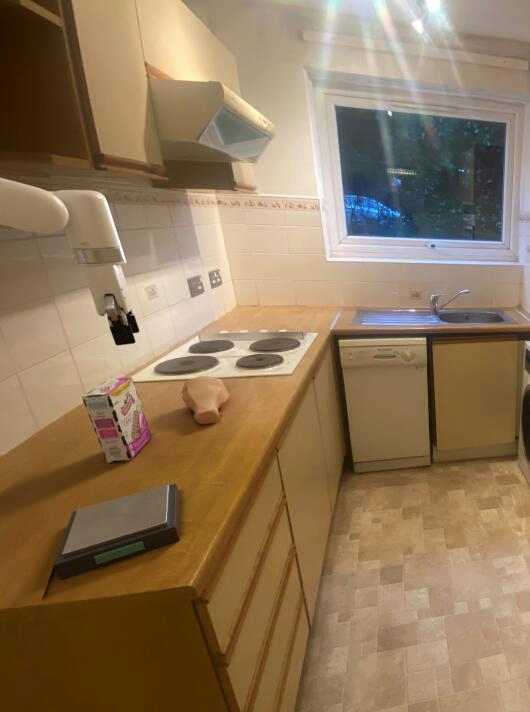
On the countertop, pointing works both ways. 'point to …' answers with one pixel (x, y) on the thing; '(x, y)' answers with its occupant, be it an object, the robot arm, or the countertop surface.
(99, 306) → the robot arm
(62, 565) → the scale
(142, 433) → the candy bar box
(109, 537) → the scale pan
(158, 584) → the countertop surface
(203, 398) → the squash
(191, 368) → the countertop surface
